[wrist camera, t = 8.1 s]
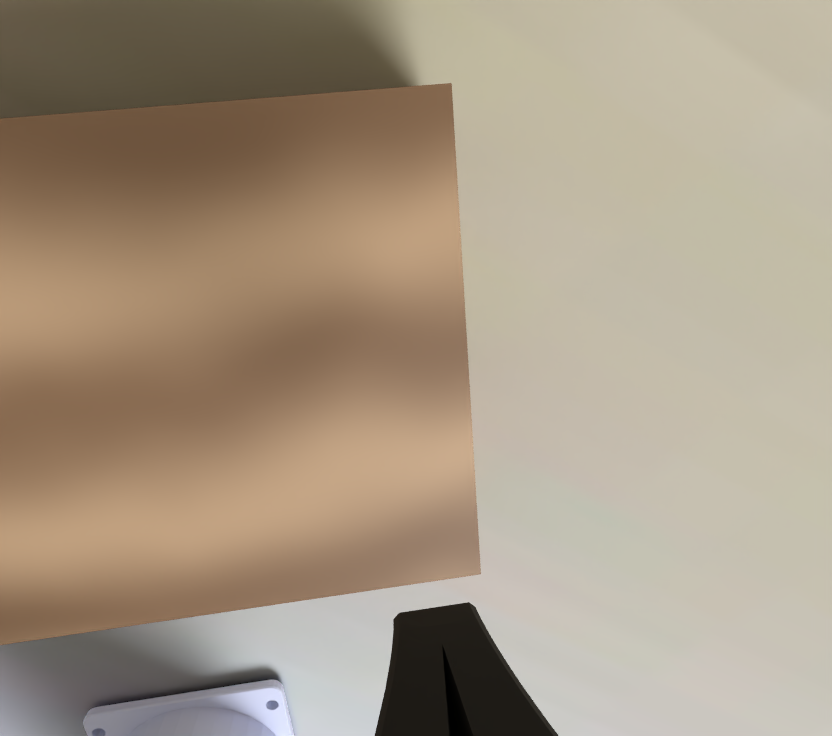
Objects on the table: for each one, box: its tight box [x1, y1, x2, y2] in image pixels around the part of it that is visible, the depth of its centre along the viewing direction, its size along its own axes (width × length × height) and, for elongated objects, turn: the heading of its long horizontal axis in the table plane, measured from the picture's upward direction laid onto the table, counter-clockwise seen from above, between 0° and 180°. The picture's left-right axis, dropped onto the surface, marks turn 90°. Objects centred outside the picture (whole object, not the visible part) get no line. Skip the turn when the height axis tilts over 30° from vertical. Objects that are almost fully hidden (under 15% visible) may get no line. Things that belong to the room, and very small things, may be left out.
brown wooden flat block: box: [0, 83, 481, 645], centre depth 16 cm, size 14×16×4 cm
